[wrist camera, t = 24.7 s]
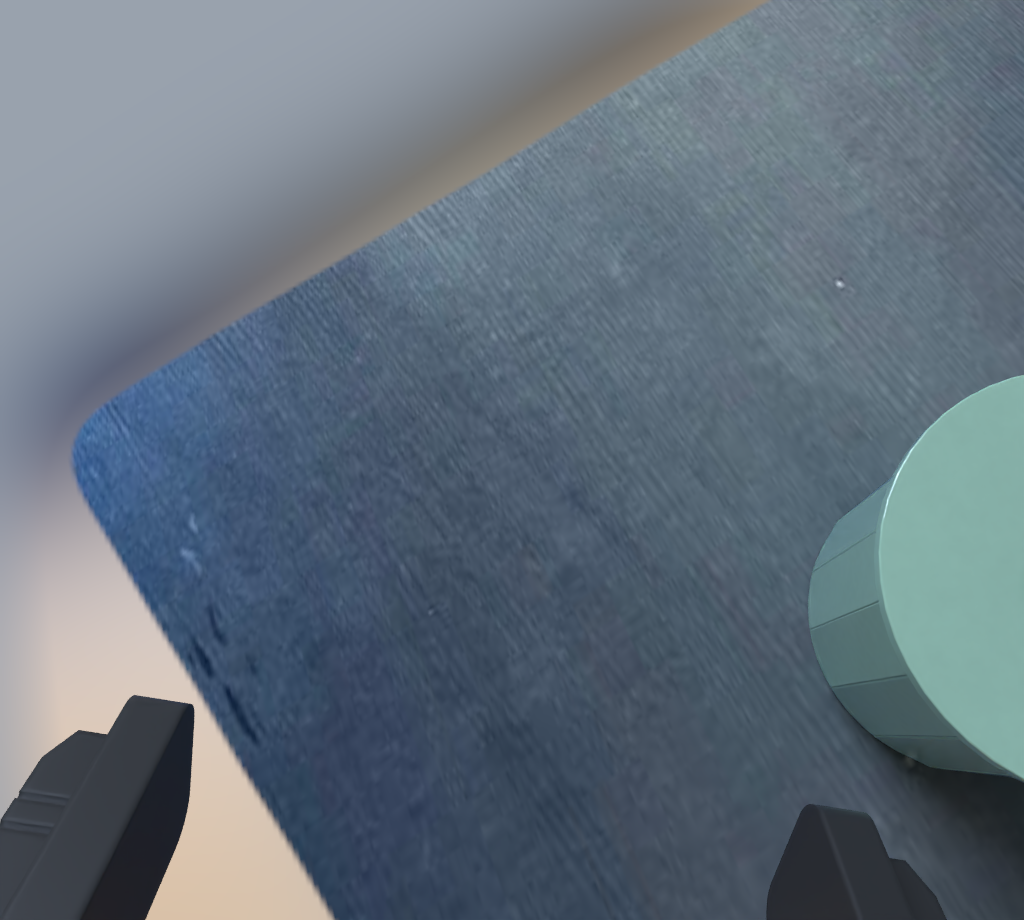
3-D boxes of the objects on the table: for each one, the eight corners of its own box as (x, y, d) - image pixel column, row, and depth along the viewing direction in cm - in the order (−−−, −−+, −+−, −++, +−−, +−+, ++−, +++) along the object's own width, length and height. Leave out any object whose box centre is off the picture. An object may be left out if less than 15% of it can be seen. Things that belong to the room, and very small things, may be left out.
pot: (871, 809, 33) (987, 839, 24) (766, 521, 36) (834, 450, 26) (1161, 723, 33) (1386, 721, 24) (1033, 444, 36) (1191, 347, 27)
